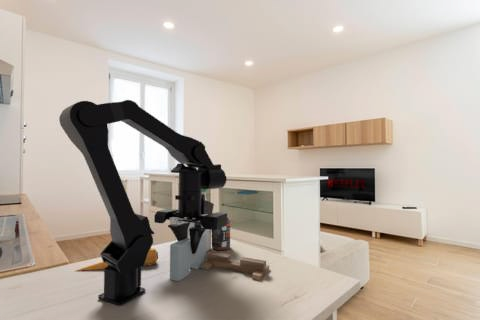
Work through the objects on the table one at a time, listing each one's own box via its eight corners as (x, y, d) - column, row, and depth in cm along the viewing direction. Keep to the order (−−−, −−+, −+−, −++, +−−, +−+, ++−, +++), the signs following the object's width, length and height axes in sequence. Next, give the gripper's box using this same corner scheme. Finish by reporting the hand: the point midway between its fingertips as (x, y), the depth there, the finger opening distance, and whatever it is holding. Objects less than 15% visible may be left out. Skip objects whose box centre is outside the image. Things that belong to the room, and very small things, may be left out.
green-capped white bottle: (215, 248, 83) (216, 186, 83) (200, 255, 76) (200, 187, 77) (197, 244, 87) (198, 184, 87) (180, 250, 80) (181, 186, 81)
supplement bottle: (229, 250, 80) (229, 214, 81) (210, 251, 80) (210, 214, 81) (230, 245, 86) (230, 211, 86) (212, 245, 86) (212, 211, 87)
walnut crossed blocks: (259, 280, 60) (259, 267, 60) (201, 268, 67) (201, 256, 67) (269, 269, 66) (269, 257, 66) (215, 259, 73) (215, 248, 73)
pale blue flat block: (178, 281, 59) (178, 246, 59) (169, 279, 60) (170, 244, 60) (206, 263, 70) (206, 233, 70) (198, 261, 71) (199, 232, 71)
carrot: (158, 264, 72) (157, 247, 73) (158, 263, 68) (156, 245, 69) (76, 280, 66) (77, 261, 67) (70, 280, 62) (71, 261, 63)
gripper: (236, 189, 69) (236, 248, 69) (180, 187, 77) (179, 239, 76) (216, 193, 59) (215, 262, 59) (153, 190, 67) (152, 251, 66)
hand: (189, 252), depth 65 cm, fingers closed on pale blue flat block, 2 cm apart
